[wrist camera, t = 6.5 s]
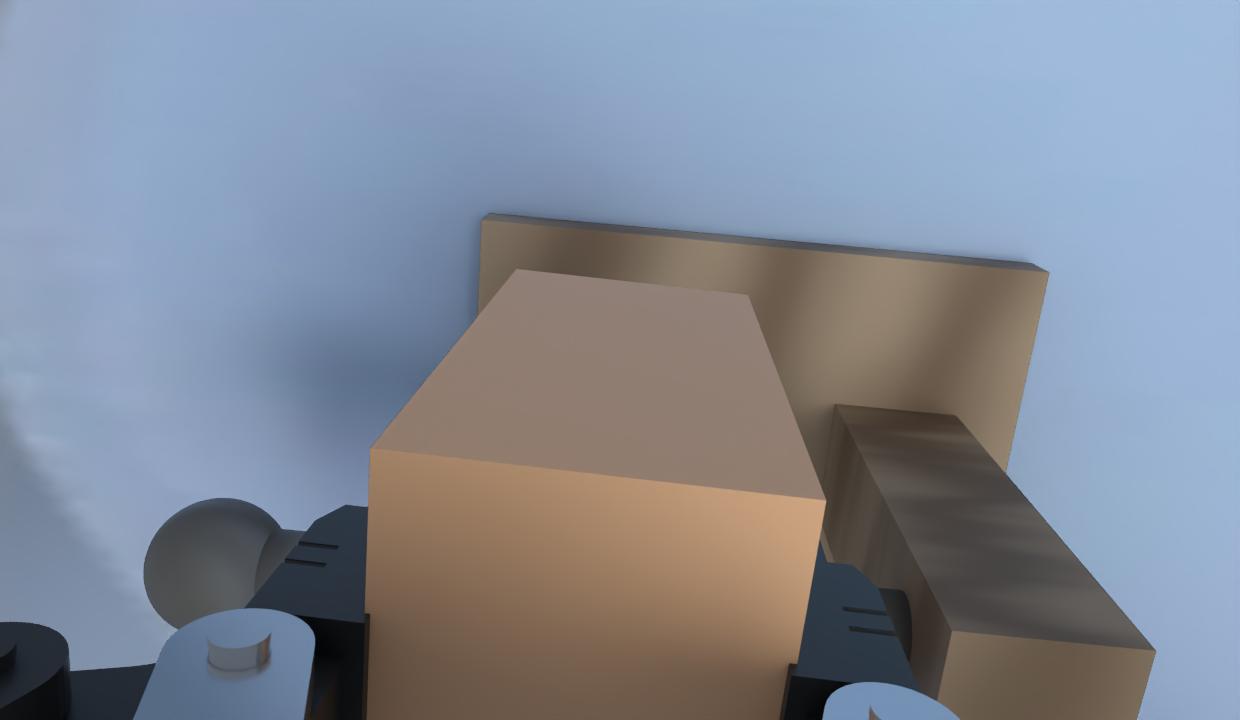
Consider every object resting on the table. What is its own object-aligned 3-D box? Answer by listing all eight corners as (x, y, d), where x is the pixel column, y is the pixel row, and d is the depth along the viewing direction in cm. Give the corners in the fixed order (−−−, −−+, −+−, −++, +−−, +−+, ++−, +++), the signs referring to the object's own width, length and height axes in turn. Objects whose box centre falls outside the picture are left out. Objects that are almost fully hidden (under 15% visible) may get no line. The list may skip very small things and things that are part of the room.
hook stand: (1032, 263, 32) (1336, 422, 17) (953, 633, 36) (1146, 1009, 21) (322, 197, 32) (49, 300, 18) (324, 571, 36) (102, 899, 22)
